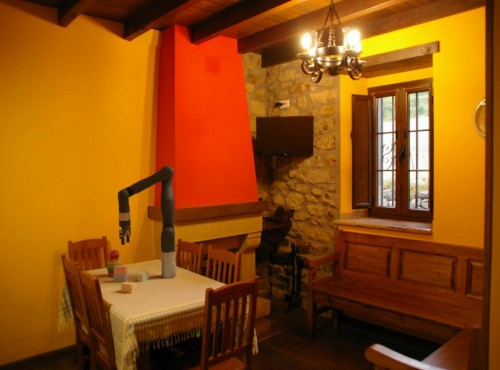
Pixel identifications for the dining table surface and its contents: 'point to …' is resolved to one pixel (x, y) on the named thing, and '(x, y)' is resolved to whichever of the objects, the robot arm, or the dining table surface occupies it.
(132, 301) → the dining table surface
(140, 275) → the sage brick
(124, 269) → the terracotta brick
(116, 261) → the stacking bear
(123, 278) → the slate brick
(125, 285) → the ochre brick
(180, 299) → the dining table surface
